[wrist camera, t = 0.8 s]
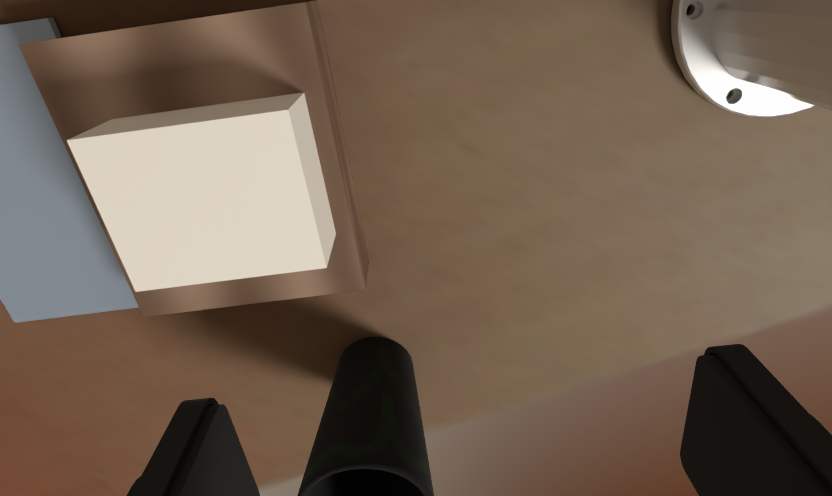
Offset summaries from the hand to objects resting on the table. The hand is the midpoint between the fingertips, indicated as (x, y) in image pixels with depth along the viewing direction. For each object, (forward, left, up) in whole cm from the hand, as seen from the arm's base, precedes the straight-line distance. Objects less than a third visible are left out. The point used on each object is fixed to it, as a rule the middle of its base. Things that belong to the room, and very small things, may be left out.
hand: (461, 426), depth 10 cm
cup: (+6, +17, -23) cm, 29 cm away
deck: (+12, 0, -23) cm, 25 cm away
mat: (+24, 0, -23) cm, 33 cm away
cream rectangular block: (+11, 0, -19) cm, 22 cm away
